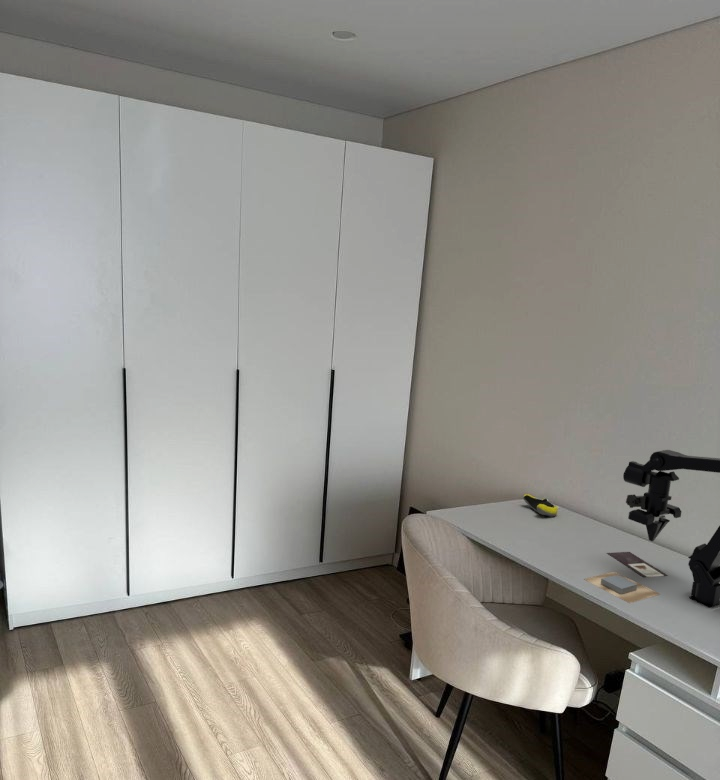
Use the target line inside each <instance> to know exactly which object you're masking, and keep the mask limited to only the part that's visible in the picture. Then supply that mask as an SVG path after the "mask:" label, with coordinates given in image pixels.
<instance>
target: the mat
mask: <svg viewBox="0 0 720 780" xmlns="http://www.w3.org/2000/svg"><path fill="white" fill-rule="evenodd" d="M614 575H619V576H621V577H623V578H625V579H627V580H629V581H631V582H633V583H635V584H637V590H634V591H630V592H626V593H623V594H620V593H618V592H616V591H614V590H612V589H610V588H608V587H606V586H604V585H602V584H601V579H602V578H606V577H610V576H614ZM583 580H584V581H586V582H588V583H590V584H592V585H593V586H595V587H597V588H599V589H602V590H603V591H606V592H607V593H609V594H611V595H613V596H615V597H617V598H619V599H621V600H623V601H624V602H627V603H629V604H631V603H635V602H636V603H637V602H639V601H642V600H645V599H650V598H652V597H653V598H654V597H656V596H660V595H661V593H659V592H657V591H655V590H653V589H651V588H649V587H647V586H646V585H643V584H641V583H639V582H636V581H635V580H633V579H631V578H628V576H627V577H626V576H624V575H623V574H620V573H619V572H616V571H611V572H608V573H603V574H599V575H596V576H592V577H587V578H584V579H583Z"/></svg>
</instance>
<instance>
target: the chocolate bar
mask: <svg viewBox="0 0 720 780" xmlns="http://www.w3.org/2000/svg"><path fill="white" fill-rule="evenodd" d="M606 554H607V555H608V556H610V557H612V558H613V559H615V560H616V561H617V562H619V563H620V564H622V565H623V566H626V567H627V568H628V569H629V570H632V571H633V572H634V573H636V574H638V575H639V576H641V577H642V578H651V577H654V578H655V577H668V574H666V573H665V572H664V571H662V570H661V569H658V568H657V567H655V566H653V565H652V564H650V563H649V562H647V561H645V560H644V559H642V558H640V557H639V556H637V555H635V554H634V553H632V552H631V551H620V552H619V551H618V552H606Z"/></svg>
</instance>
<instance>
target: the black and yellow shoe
mask: <svg viewBox="0 0 720 780" xmlns="http://www.w3.org/2000/svg"><path fill="white" fill-rule="evenodd" d="M522 499H523V501H524V502H525V503H526V504H527V506H528V507H530V508H531V509H533V511H534V512H537V513H538V514H539V515H542V516H547V517H550V518H551V517H555V516H557V515H558V509H559V508H560V506H558V505H555V506H554V504H552V502H551V501H550V502H549V499H547V498H542V499H539V498H537V497H534V496H532V495H531V494H527V493H525V494H524V495H523V498H522Z"/></svg>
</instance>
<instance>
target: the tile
mask: <svg viewBox="0 0 720 780" xmlns="http://www.w3.org/2000/svg"><path fill="white" fill-rule="evenodd" d="M601 584H602V585H604V586H606V587H608V588H610V589H612V590H614V591H616V592H618V593H620V594H623V593H626V592H630V591H634V590H637V584H635V583H633V582H631V581H629V580H627V579H625V578H623V577H621V576H619V575H614V576H610V577H606V578H602V579H601Z"/></svg>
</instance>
